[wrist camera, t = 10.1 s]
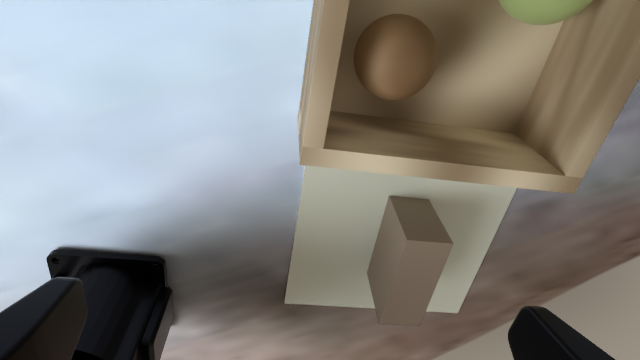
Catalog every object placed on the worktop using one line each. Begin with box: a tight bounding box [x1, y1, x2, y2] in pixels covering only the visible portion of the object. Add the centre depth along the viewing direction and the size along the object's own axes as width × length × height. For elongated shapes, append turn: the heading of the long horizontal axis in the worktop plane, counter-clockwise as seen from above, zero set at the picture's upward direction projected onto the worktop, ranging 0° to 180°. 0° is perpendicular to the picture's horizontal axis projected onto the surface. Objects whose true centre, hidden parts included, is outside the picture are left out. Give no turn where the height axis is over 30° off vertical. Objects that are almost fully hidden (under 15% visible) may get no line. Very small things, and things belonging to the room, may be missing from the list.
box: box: [298, 0, 640, 194], centre depth 15 cm, size 12×12×5 cm
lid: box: [284, 165, 517, 326], centre depth 23 cm, size 12×12×5 cm
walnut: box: [354, 14, 438, 100], centre depth 16 cm, size 3×3×3 cm
